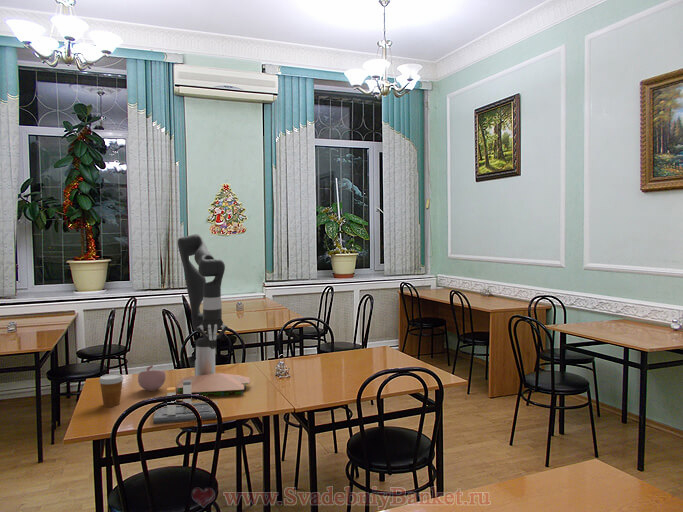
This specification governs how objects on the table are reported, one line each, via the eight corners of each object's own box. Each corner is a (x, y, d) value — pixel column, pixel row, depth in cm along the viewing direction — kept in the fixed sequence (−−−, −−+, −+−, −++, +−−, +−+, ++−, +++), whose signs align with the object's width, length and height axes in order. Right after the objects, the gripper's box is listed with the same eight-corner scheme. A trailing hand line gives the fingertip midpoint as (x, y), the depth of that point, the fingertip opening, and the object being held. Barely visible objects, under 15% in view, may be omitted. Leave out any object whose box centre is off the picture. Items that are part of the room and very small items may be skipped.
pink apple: (166, 385, 244) (165, 361, 243) (165, 392, 232) (165, 368, 232) (139, 387, 240) (138, 363, 240) (137, 395, 229) (136, 370, 228)
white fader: (191, 406, 211) (191, 379, 210) (191, 408, 208) (190, 381, 207) (183, 406, 210) (183, 380, 210) (183, 409, 207) (183, 382, 207)
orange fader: (175, 414, 201) (175, 387, 200) (175, 417, 198) (175, 389, 197) (167, 415, 200) (167, 387, 200) (167, 417, 197) (167, 389, 197)
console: (153, 423, 194) (153, 418, 194) (157, 410, 209) (157, 405, 209) (217, 418, 200) (217, 412, 200) (217, 405, 215) (217, 400, 215)
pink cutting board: (250, 396, 229) (250, 378, 229) (173, 400, 223) (173, 382, 223) (249, 381, 252) (249, 365, 252) (179, 385, 245) (179, 368, 245)
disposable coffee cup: (99, 409, 210) (99, 380, 209) (98, 402, 218) (98, 375, 218) (124, 406, 214) (124, 377, 214) (123, 399, 223) (122, 372, 222)
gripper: (195, 309, 205) (196, 351, 207) (228, 308, 209) (229, 349, 210) (195, 306, 213) (196, 347, 214) (228, 305, 216) (228, 345, 217)
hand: (212, 348), depth 212 cm, fingers closed
